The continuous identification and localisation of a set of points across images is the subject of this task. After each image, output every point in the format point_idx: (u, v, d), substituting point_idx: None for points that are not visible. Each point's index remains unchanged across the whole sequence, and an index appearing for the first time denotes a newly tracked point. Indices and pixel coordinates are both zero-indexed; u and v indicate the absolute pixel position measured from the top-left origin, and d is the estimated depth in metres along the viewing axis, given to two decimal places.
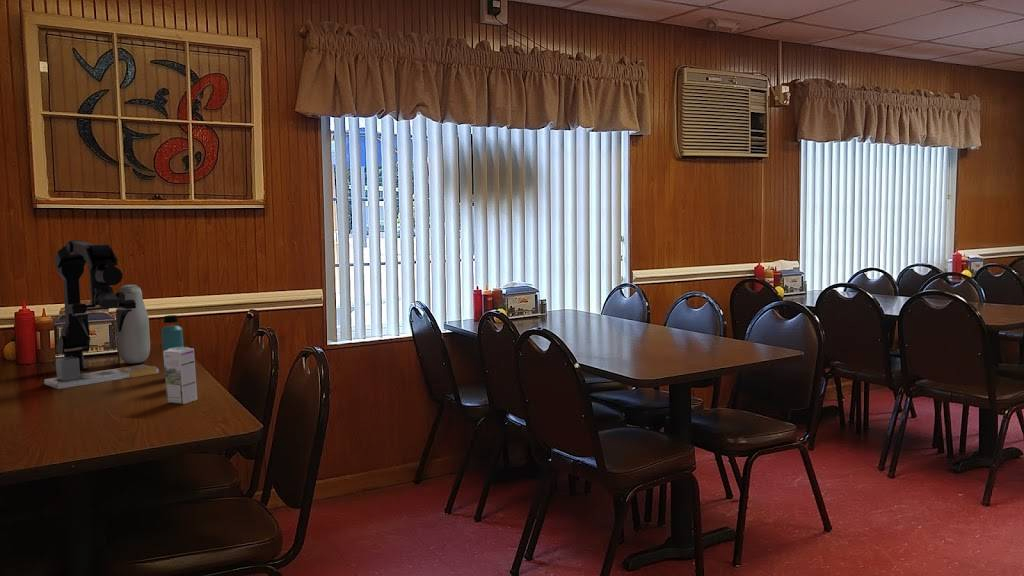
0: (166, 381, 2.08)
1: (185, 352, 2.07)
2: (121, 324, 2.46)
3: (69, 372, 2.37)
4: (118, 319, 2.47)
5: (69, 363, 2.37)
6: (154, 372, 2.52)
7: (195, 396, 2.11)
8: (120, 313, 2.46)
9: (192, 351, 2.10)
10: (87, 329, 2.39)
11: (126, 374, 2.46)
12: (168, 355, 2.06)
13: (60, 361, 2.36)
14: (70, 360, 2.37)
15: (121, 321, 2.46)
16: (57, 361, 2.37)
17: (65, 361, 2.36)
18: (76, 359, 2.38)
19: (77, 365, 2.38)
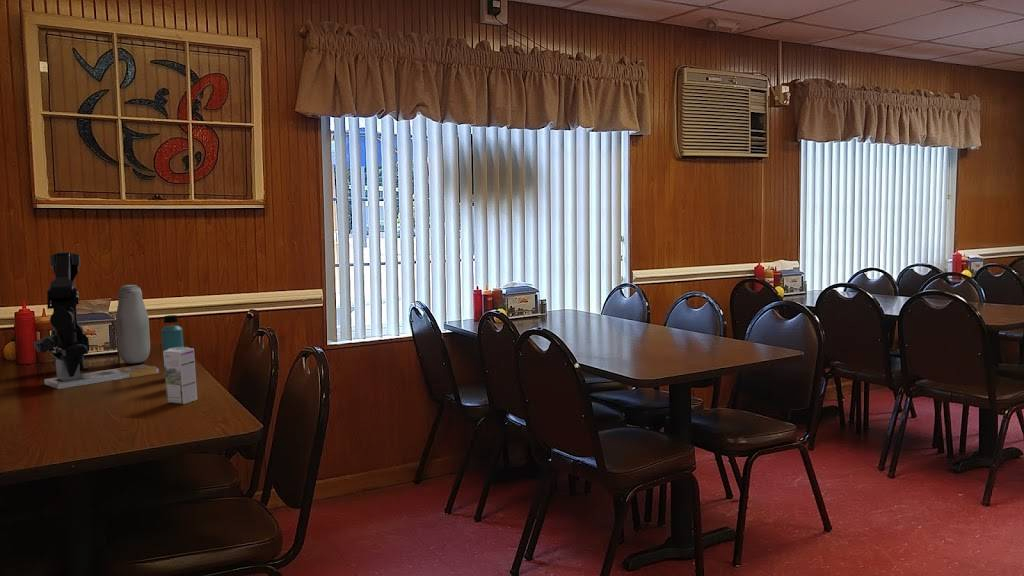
0: (166, 381, 2.08)
1: (186, 352, 2.07)
2: (68, 369, 2.36)
3: None
4: None
5: None
6: (154, 372, 2.52)
7: (195, 396, 2.11)
8: None
9: (192, 351, 2.10)
10: None
11: (126, 374, 2.46)
12: (168, 355, 2.06)
13: (60, 361, 2.36)
14: None
15: (67, 366, 2.36)
16: (57, 361, 2.37)
17: (65, 361, 2.36)
18: None
19: None
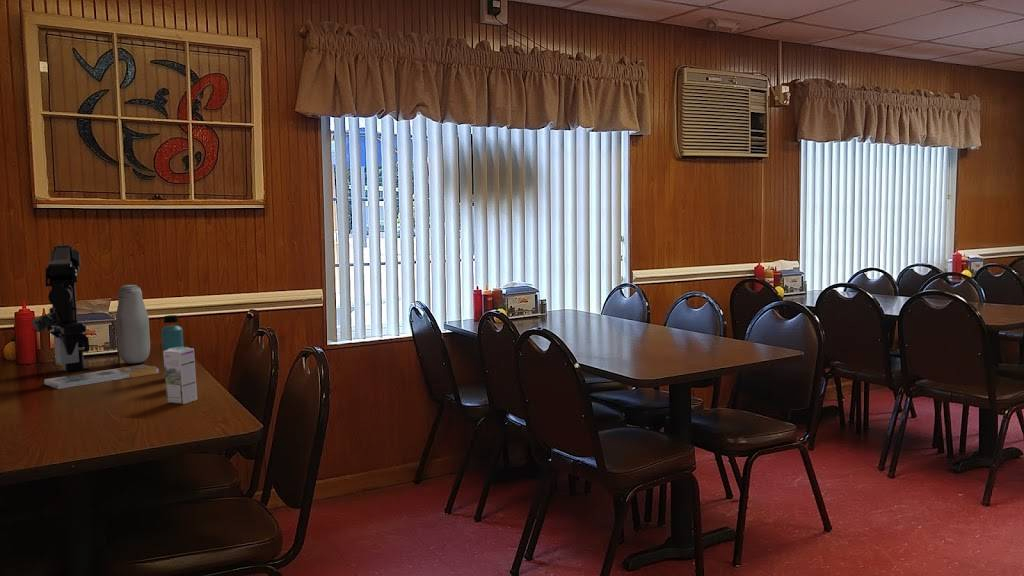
0: (166, 381, 2.08)
1: (186, 352, 2.07)
2: (66, 347, 2.35)
3: None
4: None
5: None
6: (154, 372, 2.52)
7: (195, 396, 2.11)
8: None
9: (192, 351, 2.10)
10: None
11: (126, 374, 2.46)
12: (168, 355, 2.06)
13: (58, 339, 2.35)
14: None
15: (66, 344, 2.35)
16: (55, 339, 2.37)
17: (63, 339, 2.35)
18: None
19: None
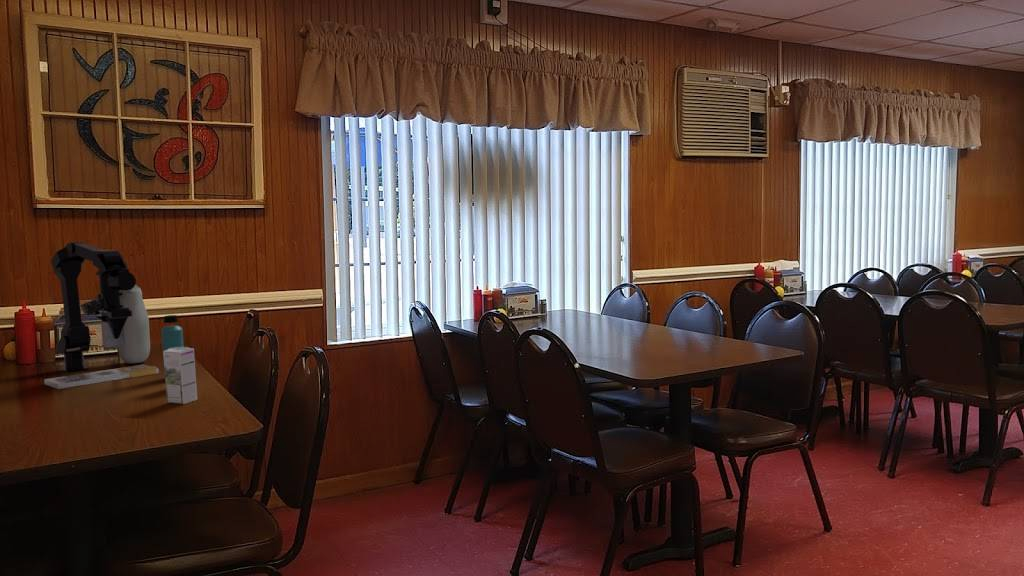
0: (166, 381, 2.08)
1: (185, 352, 2.07)
2: (113, 331, 2.45)
3: None
4: None
5: None
6: (154, 372, 2.52)
7: (195, 396, 2.11)
8: None
9: (192, 351, 2.10)
10: None
11: (126, 374, 2.46)
12: (168, 355, 2.06)
13: (105, 323, 2.45)
14: None
15: (112, 328, 2.45)
16: (103, 323, 2.47)
17: (110, 323, 2.45)
18: None
19: None
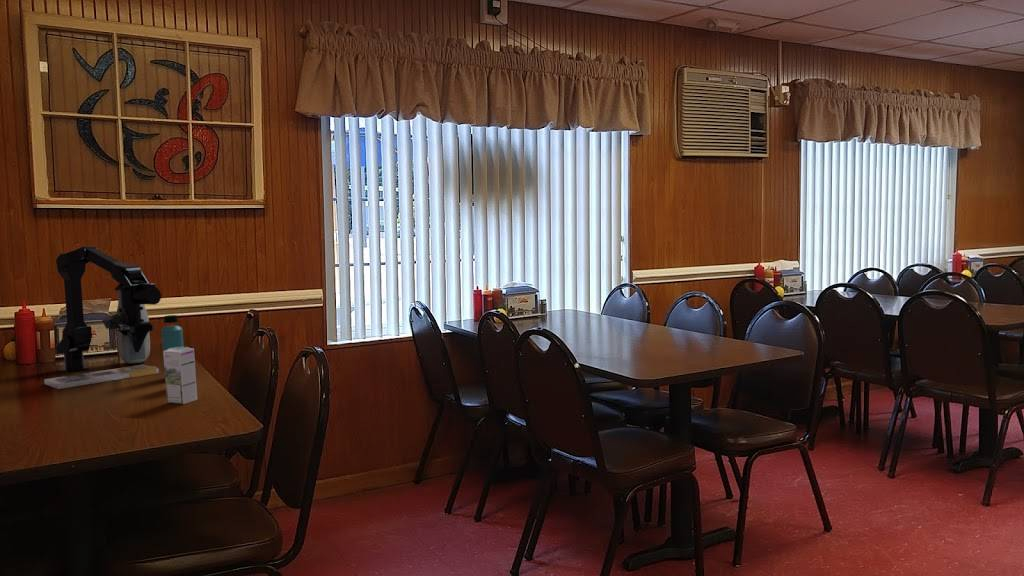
0: (166, 381, 2.08)
1: (185, 352, 2.07)
2: (134, 345, 2.50)
3: None
4: None
5: None
6: (154, 372, 2.52)
7: (195, 396, 2.11)
8: None
9: (192, 351, 2.10)
10: None
11: (126, 374, 2.46)
12: (168, 355, 2.06)
13: (127, 337, 2.50)
14: None
15: (133, 342, 2.50)
16: (123, 337, 2.52)
17: (131, 337, 2.50)
18: None
19: None
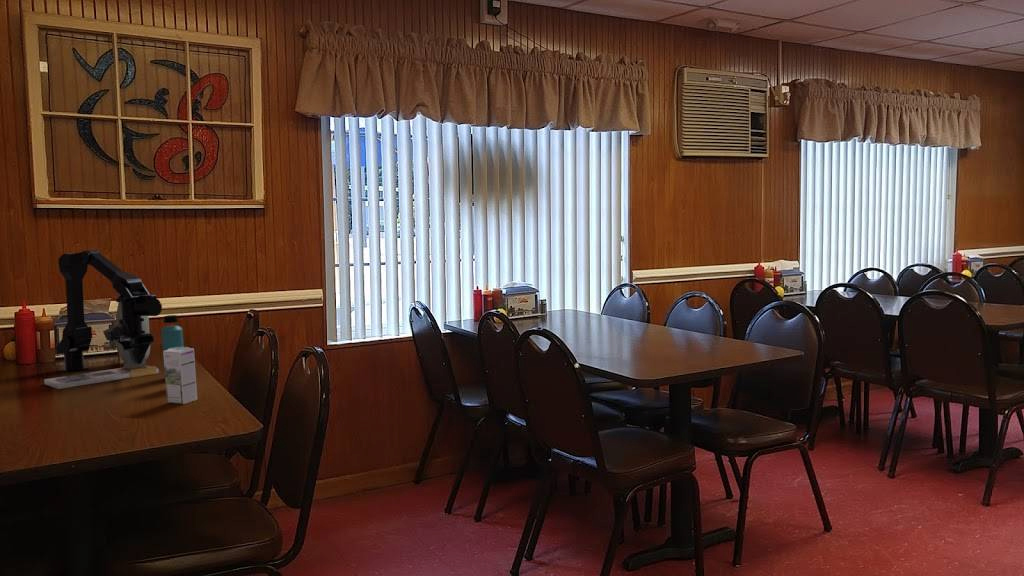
0: (166, 381, 2.08)
1: (186, 352, 2.07)
2: (136, 357, 2.50)
3: (136, 362, 2.52)
4: None
5: None
6: (154, 372, 2.52)
7: (195, 396, 2.11)
8: None
9: (192, 351, 2.10)
10: None
11: (126, 374, 2.46)
12: (168, 355, 2.06)
13: (128, 352, 2.50)
14: None
15: (136, 354, 2.50)
16: (124, 352, 2.52)
17: (132, 352, 2.51)
18: None
19: None
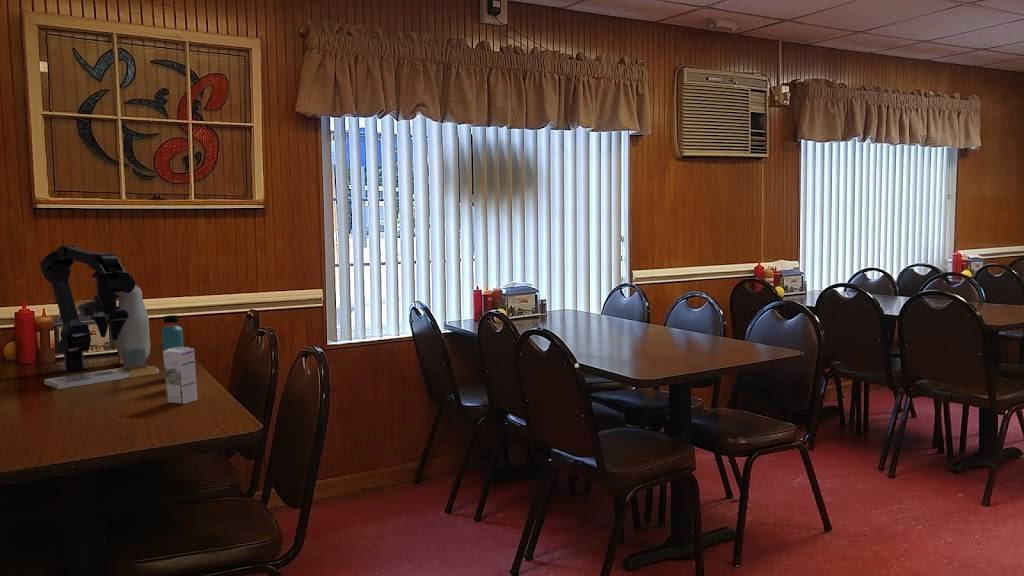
0: (166, 381, 2.08)
1: (186, 352, 2.07)
2: (111, 333, 2.50)
3: (136, 362, 2.52)
4: None
5: (136, 354, 2.52)
6: (154, 372, 2.52)
7: (195, 396, 2.11)
8: None
9: (192, 351, 2.10)
10: (99, 331, 2.57)
11: (126, 374, 2.46)
12: (168, 355, 2.06)
13: (128, 352, 2.50)
14: (137, 351, 2.52)
15: (111, 330, 2.50)
16: (124, 352, 2.52)
17: (132, 352, 2.51)
18: (142, 350, 2.53)
19: (143, 356, 2.53)
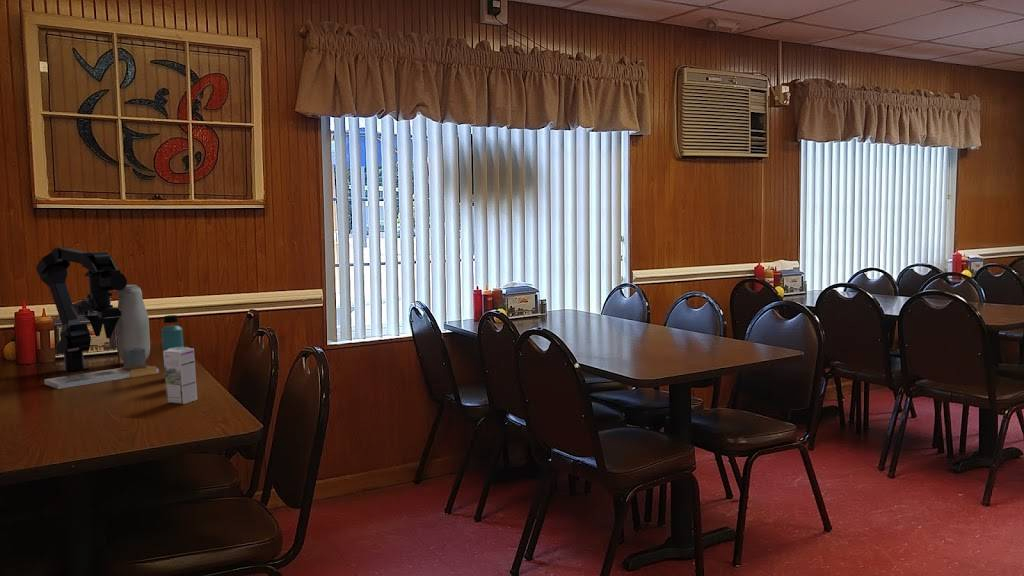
0: (166, 381, 2.08)
1: (186, 352, 2.07)
2: (105, 331, 2.50)
3: (136, 362, 2.52)
4: None
5: (136, 354, 2.52)
6: (154, 372, 2.52)
7: (195, 396, 2.11)
8: None
9: (192, 351, 2.10)
10: None
11: (126, 374, 2.46)
12: (168, 355, 2.06)
13: (128, 352, 2.50)
14: (137, 351, 2.52)
15: (105, 328, 2.50)
16: (124, 352, 2.52)
17: (132, 352, 2.51)
18: (142, 350, 2.53)
19: (143, 356, 2.53)
